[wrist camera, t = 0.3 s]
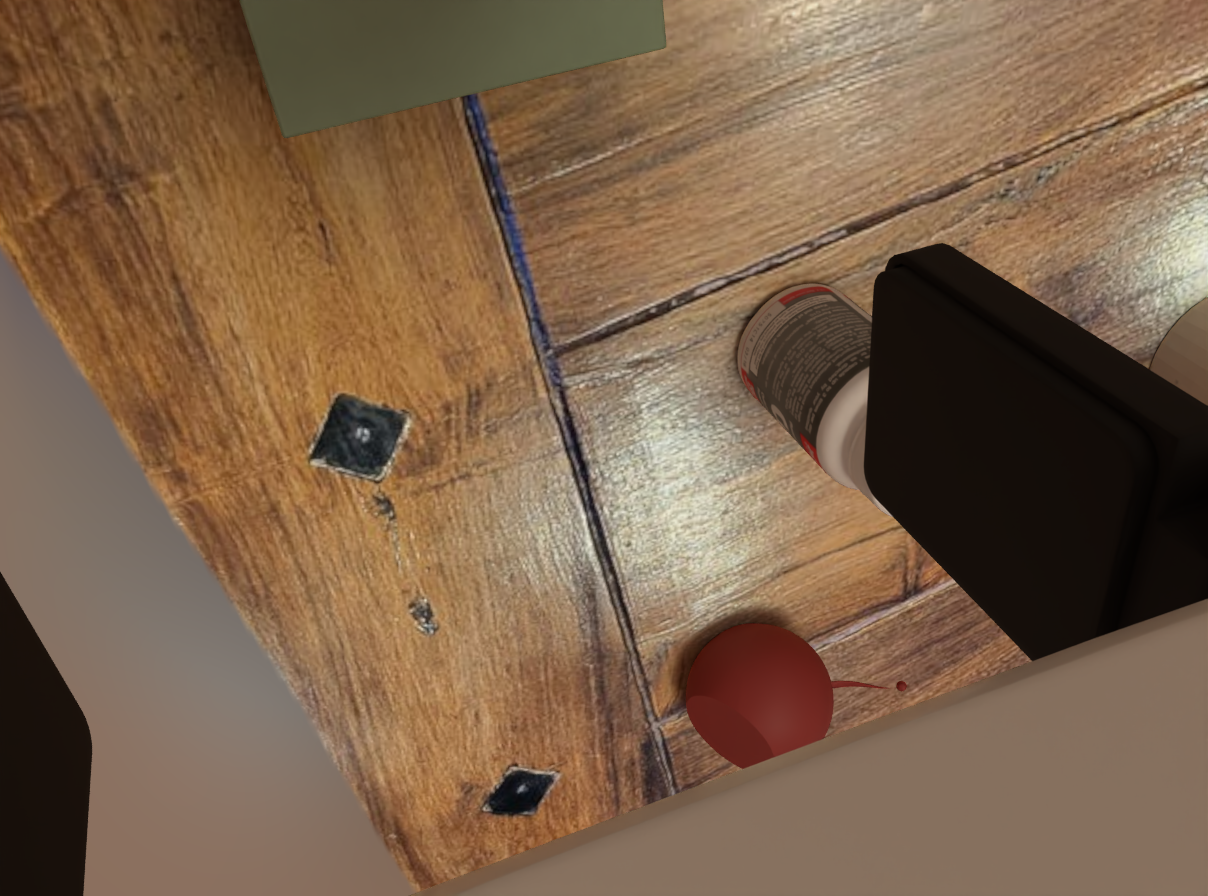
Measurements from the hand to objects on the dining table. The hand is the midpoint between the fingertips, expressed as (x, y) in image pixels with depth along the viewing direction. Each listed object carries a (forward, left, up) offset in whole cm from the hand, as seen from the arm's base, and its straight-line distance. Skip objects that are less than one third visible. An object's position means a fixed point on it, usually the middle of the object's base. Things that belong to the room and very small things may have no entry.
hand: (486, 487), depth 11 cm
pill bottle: (+13, +14, -20) cm, 28 cm away
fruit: (+28, +12, -20) cm, 37 cm away
